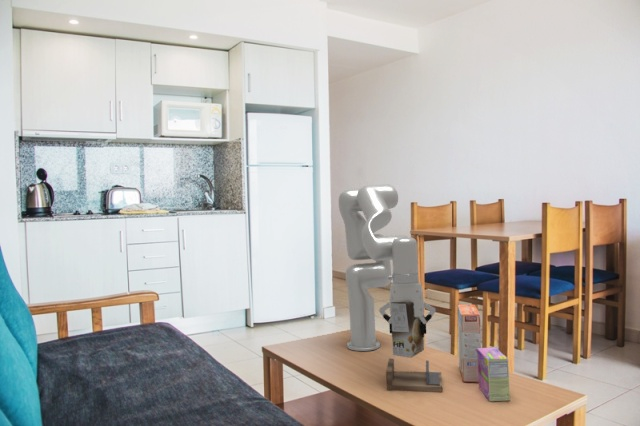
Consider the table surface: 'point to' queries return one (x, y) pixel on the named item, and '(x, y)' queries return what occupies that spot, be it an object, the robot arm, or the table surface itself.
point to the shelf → (409, 380)
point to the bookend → (432, 376)
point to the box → (493, 374)
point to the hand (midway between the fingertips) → (408, 335)
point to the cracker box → (469, 342)
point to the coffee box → (406, 330)
